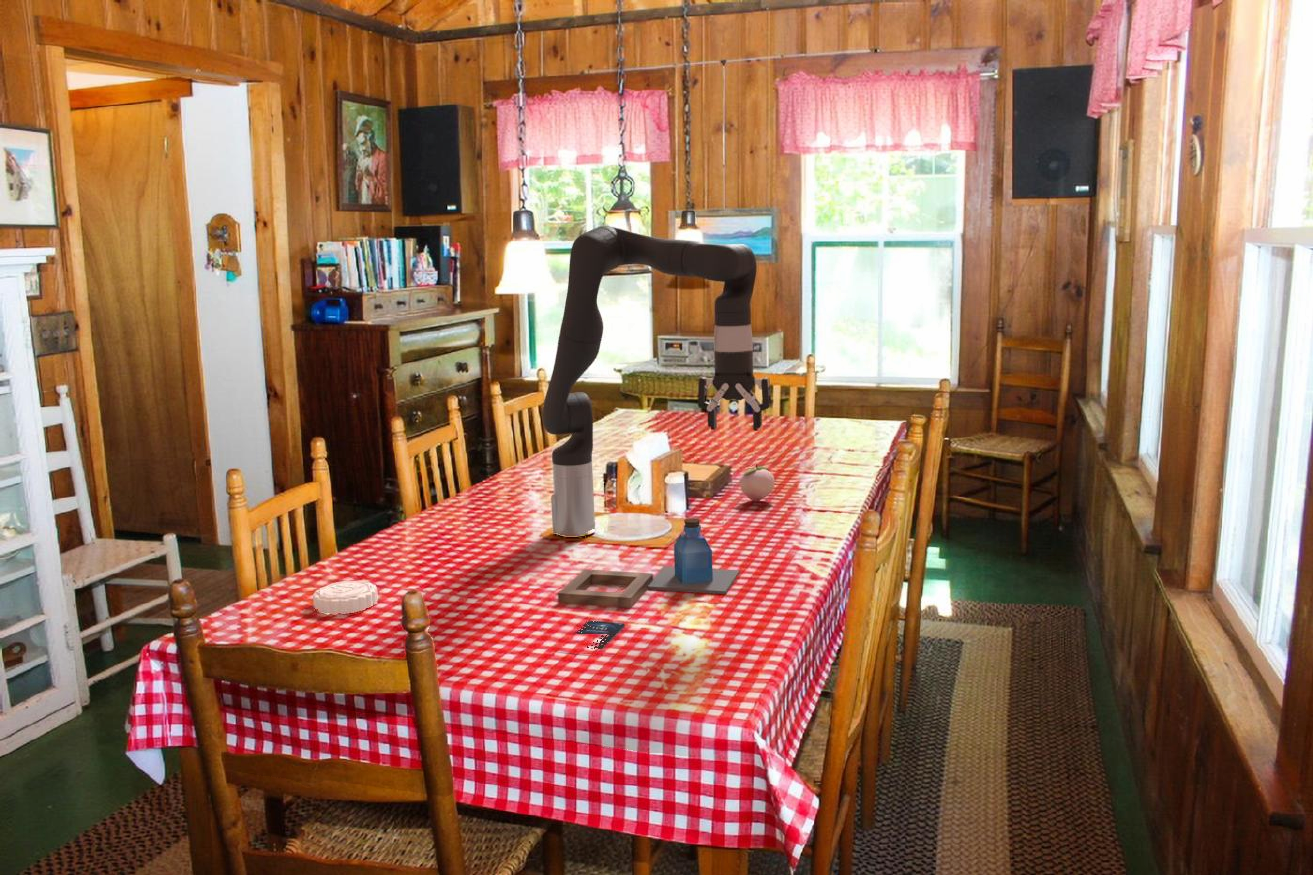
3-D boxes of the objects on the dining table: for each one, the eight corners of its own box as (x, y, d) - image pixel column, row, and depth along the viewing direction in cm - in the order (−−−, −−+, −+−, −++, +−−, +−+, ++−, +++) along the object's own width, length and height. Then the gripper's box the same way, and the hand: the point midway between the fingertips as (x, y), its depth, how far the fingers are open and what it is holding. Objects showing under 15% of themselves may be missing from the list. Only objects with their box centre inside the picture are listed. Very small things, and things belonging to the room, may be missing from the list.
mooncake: (355, 591, 216) (353, 574, 215) (390, 603, 208) (389, 585, 207) (301, 608, 207) (300, 590, 206) (337, 621, 199) (335, 603, 198)
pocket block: (558, 602, 204) (557, 593, 204) (584, 578, 218) (584, 569, 217) (631, 608, 200) (630, 597, 200) (653, 583, 214) (652, 573, 213)
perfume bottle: (682, 584, 211) (680, 525, 208) (674, 574, 217) (673, 517, 214) (712, 580, 212) (711, 522, 210) (704, 571, 218) (702, 514, 216)
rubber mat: (646, 589, 210) (646, 586, 210) (664, 568, 222) (664, 566, 222) (725, 594, 206) (725, 591, 206) (739, 573, 218) (739, 570, 218)
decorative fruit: (762, 508, 268) (761, 469, 266) (735, 504, 273) (734, 466, 271) (781, 500, 275) (781, 462, 273) (754, 496, 280) (754, 459, 278)
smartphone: (553, 651, 180) (587, 619, 194) (553, 654, 180) (587, 622, 194) (595, 655, 178) (627, 623, 191) (595, 659, 178) (627, 626, 192)
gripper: (693, 350, 206) (695, 432, 209) (766, 350, 202) (767, 434, 205) (702, 346, 213) (704, 425, 216) (772, 345, 209) (774, 427, 212)
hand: (735, 429), depth 211 cm, fingers open, 8 cm apart
